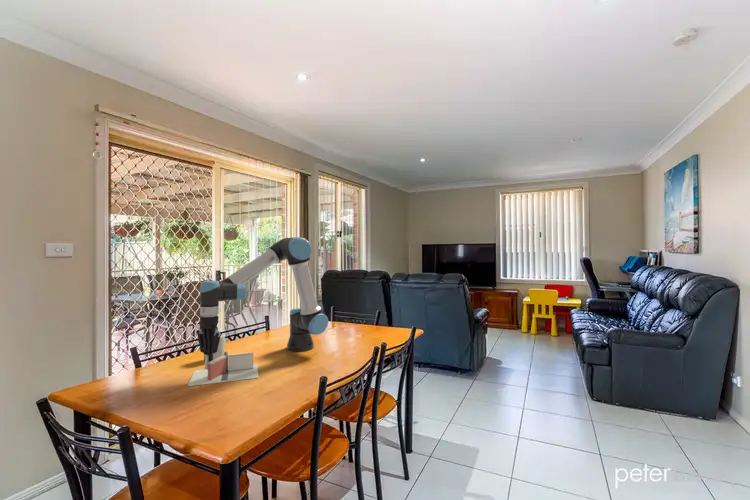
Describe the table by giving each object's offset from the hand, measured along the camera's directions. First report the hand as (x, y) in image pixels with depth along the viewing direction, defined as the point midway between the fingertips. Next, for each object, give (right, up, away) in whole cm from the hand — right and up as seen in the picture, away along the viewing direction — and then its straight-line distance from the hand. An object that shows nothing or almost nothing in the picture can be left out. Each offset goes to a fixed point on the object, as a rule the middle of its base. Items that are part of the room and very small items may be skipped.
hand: (208, 368), depth 156 cm
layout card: (+6, -4, +4) cm, 8 cm away
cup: (-9, -4, +27) cm, 29 cm away
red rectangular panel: (+3, -4, +2) cm, 5 cm away
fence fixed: (+10, -4, +10) cm, 15 cm away
